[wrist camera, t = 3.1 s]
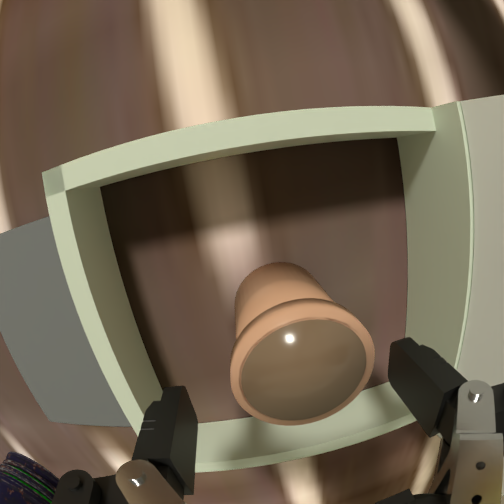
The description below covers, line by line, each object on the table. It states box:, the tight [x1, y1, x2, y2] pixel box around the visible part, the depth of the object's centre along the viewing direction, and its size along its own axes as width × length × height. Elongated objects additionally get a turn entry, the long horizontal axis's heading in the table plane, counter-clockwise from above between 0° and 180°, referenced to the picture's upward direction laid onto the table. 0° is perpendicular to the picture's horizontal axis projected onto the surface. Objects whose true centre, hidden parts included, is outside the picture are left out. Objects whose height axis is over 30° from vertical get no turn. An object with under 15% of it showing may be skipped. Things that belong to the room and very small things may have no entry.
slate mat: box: [0, 216, 132, 427], centre depth 17 cm, size 10×16×1 cm, turn 10°
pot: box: [230, 262, 375, 426], centre depth 14 cm, size 6×6×7 cm
